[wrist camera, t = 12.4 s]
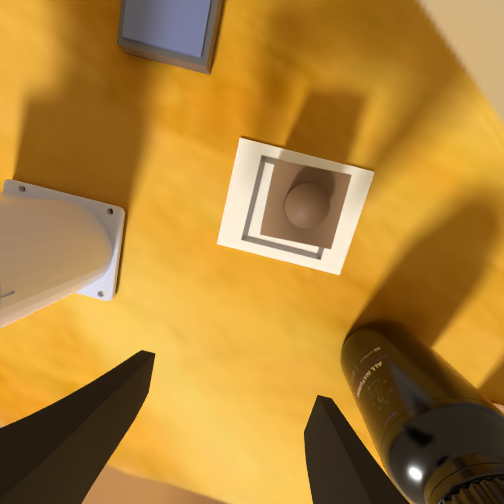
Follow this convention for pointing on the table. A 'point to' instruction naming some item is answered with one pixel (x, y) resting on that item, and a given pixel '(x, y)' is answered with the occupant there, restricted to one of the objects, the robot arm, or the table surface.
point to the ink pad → (171, 31)
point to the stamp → (304, 204)
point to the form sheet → (254, 201)
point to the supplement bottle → (425, 418)
